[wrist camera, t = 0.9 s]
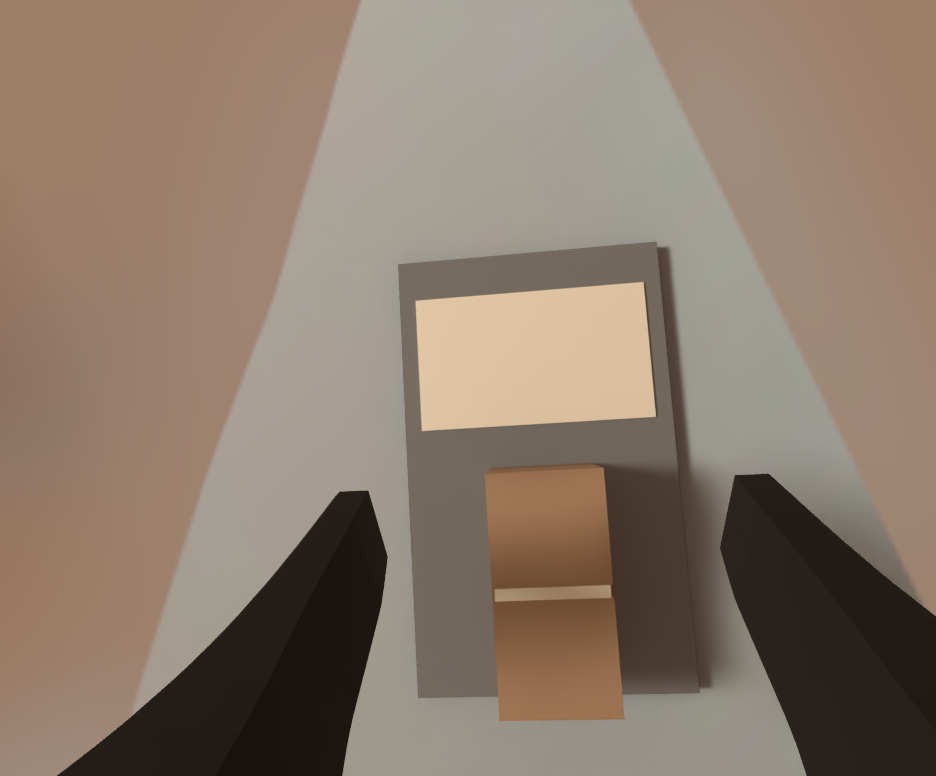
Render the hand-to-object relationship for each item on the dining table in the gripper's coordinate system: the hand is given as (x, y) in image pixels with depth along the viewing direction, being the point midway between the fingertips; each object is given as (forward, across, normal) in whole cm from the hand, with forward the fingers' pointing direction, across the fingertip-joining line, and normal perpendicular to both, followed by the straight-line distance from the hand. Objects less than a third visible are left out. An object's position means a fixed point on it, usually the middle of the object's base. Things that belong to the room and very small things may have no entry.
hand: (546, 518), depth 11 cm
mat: (+10, 0, +7) cm, 12 cm away
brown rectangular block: (+7, 0, +10) cm, 12 cm away
